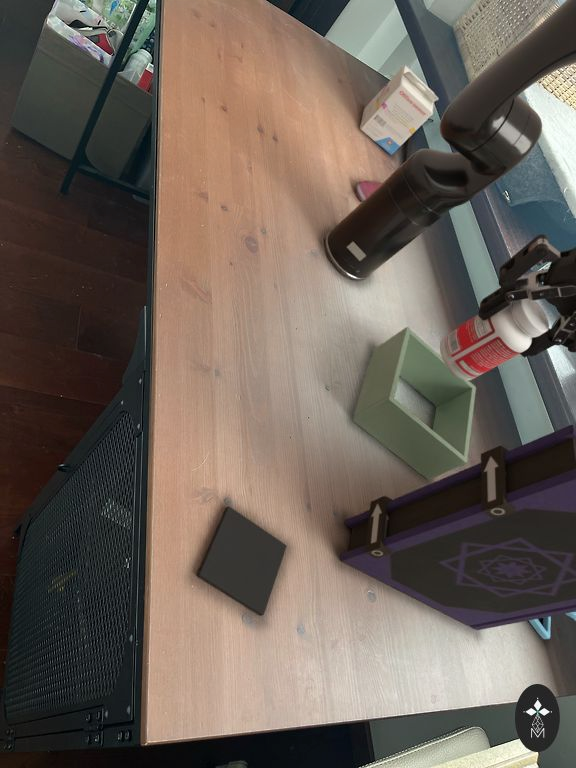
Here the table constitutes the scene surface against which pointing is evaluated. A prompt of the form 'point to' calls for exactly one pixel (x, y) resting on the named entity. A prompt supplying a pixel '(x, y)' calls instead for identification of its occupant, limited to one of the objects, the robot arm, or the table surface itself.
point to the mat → (242, 561)
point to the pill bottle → (492, 339)
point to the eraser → (366, 189)
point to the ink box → (398, 110)
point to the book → (482, 536)
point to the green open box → (398, 424)
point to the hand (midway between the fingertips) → (501, 331)
